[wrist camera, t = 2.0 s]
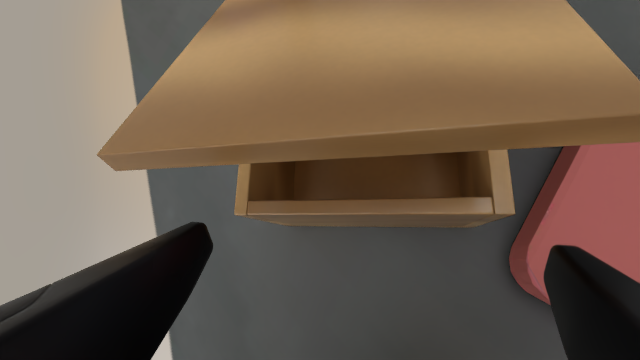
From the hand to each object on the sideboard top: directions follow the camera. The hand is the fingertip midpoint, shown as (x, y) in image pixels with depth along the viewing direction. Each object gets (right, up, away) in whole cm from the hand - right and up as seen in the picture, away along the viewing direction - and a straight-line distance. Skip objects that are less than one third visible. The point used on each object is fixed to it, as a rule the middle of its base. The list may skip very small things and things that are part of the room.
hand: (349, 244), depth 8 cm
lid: (0, +9, +5) cm, 10 cm away
